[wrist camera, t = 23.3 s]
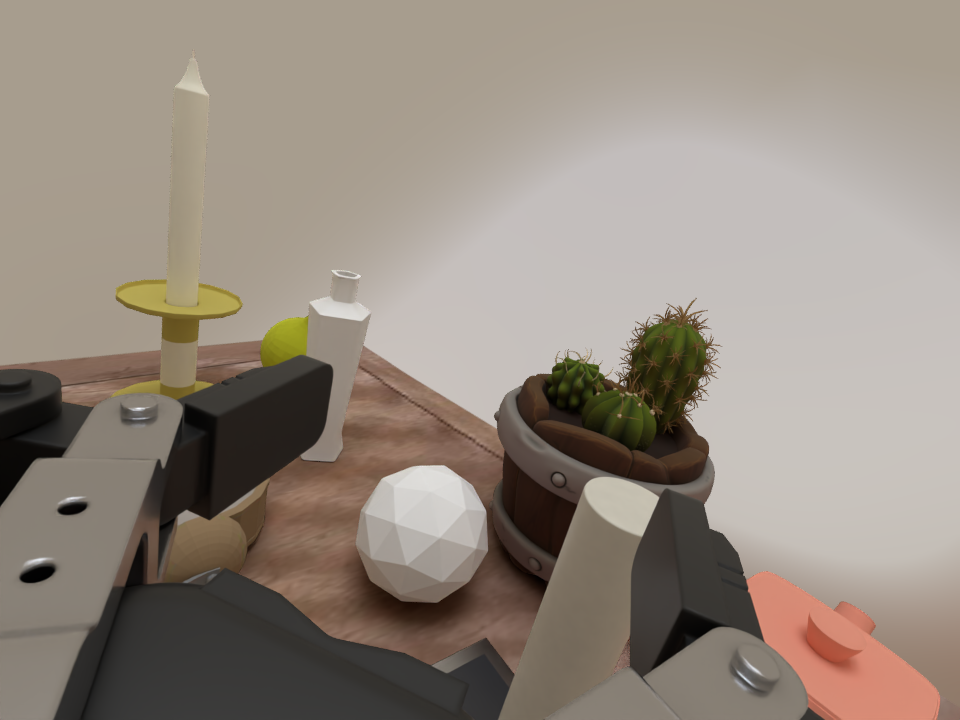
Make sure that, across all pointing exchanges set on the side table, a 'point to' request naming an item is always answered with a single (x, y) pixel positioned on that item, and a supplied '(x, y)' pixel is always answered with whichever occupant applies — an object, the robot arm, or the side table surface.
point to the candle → (182, 253)
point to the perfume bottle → (336, 354)
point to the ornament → (284, 341)
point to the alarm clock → (216, 539)
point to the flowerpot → (599, 438)
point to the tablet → (480, 678)
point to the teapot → (839, 656)
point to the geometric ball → (422, 533)
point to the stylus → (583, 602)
